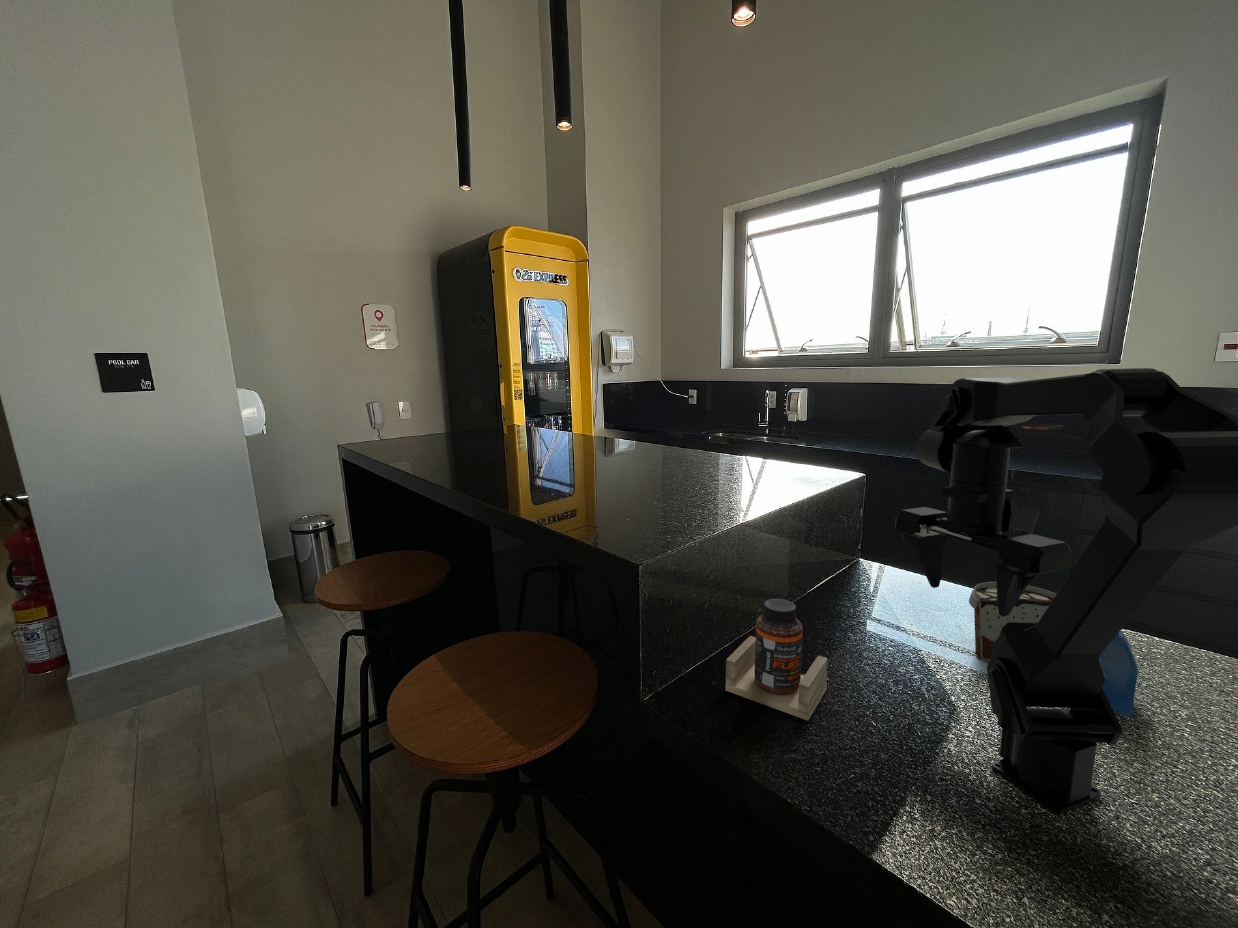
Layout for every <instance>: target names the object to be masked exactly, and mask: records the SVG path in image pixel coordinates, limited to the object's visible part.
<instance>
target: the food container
mask: <svg viewBox="0 0 1238 928" xmlns="http://www.w3.org/2000/svg"><path fill="white" fill-rule="evenodd" d="M1056 594H1057V593H1055V592H1052V591H1050V590H1048V589H1044V588H1041V587H1036V586H1032V585H1028V586H1027V587H1026V589H1025V590H1024V592H1023V593H1022V595H1021V596H1020V598H1019V599H1018V601H1017V603H1016V604H1015V606H1014V607H1013V609H1012V610H1011V612H1010V614H1009V615H1008V616H1004V617H1003V616H1000V615H999V611H998V605H997V581H987V582H981V583H977V584H976V585H975V586H974V588H973V589H972V590H971V593H970V595H969V598H968V604H969V605H970V606H971V607H972V608H973V611H974V612H973V615H974V616H973V617H974V644H975V647H974V648H975V650H974V651H975V654H976V657H977V658H978V660H980V661H984V662H985V661H987V662H989V659H990V656H991V654H992V652H993V651H994V648H992V647H991V644H992V643H994V642H995V641H996V640H997V639H998V637H999V635H1000V632H1001V630H1002V627H1003V626H1005V625H1006V624H1007V623H1008V622H1019V623H1038V622H1039V620H1040V619H1041V617H1042V616H1043V614H1044V613H1045V611H1046V610H1047V608H1048V607H1049V605H1050V604H1051V602H1052V600H1053V599H1054V597H1055V596H1056Z"/></svg>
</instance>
